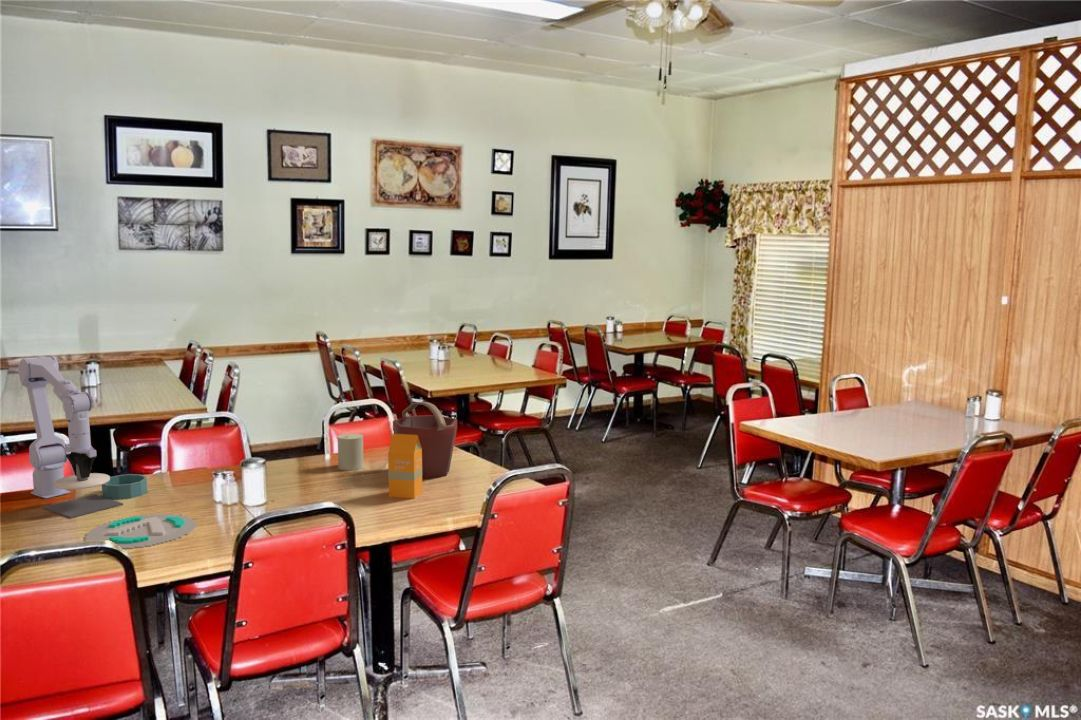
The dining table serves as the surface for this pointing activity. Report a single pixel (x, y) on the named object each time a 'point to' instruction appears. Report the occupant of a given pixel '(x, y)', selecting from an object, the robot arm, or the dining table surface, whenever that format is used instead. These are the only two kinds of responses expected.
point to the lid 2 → (143, 530)
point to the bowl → (125, 486)
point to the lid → (81, 481)
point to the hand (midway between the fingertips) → (82, 476)
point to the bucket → (430, 438)
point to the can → (350, 451)
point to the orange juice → (405, 466)
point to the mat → (82, 506)
